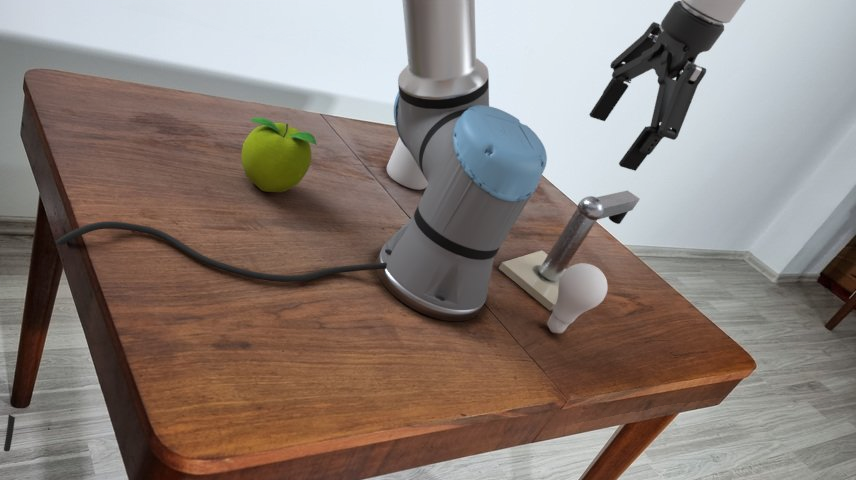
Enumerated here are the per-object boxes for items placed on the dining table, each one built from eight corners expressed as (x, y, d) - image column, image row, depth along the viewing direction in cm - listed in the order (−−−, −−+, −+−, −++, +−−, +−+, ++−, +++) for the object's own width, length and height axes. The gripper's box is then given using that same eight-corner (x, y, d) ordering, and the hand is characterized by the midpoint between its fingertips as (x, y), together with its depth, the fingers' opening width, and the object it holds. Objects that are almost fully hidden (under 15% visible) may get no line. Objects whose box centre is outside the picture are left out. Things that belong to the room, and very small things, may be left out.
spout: (551, 284, 105) (601, 207, 97) (533, 269, 106) (581, 192, 99) (598, 266, 116) (646, 196, 108) (581, 253, 118) (627, 183, 110)
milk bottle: (415, 195, 115) (469, 82, 105) (377, 171, 117) (426, 58, 107) (434, 184, 122) (486, 77, 111) (397, 162, 124) (445, 54, 113)
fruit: (286, 213, 96) (309, 149, 90) (224, 184, 96) (243, 118, 91) (306, 188, 104) (329, 128, 98) (249, 161, 104) (268, 99, 98)
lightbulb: (579, 339, 98) (624, 278, 92) (559, 351, 93) (604, 287, 87) (545, 311, 100) (586, 250, 94) (524, 322, 96) (565, 258, 90)
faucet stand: (549, 310, 101) (553, 304, 100) (498, 268, 106) (501, 262, 105) (587, 294, 109) (591, 288, 109) (538, 255, 114) (542, 250, 113)
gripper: (769, 64, 87) (662, 196, 101) (685, -16, 105) (604, 105, 119) (722, 46, 85) (619, 184, 99) (644, -33, 103) (566, 93, 116)
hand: (611, 141), depth 109 cm, fingers open, 13 cm apart
